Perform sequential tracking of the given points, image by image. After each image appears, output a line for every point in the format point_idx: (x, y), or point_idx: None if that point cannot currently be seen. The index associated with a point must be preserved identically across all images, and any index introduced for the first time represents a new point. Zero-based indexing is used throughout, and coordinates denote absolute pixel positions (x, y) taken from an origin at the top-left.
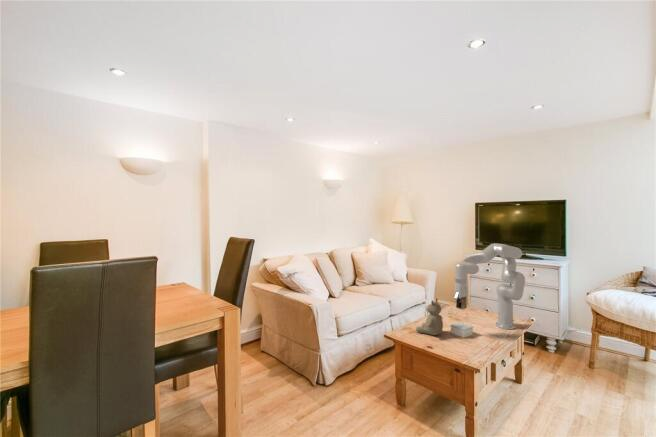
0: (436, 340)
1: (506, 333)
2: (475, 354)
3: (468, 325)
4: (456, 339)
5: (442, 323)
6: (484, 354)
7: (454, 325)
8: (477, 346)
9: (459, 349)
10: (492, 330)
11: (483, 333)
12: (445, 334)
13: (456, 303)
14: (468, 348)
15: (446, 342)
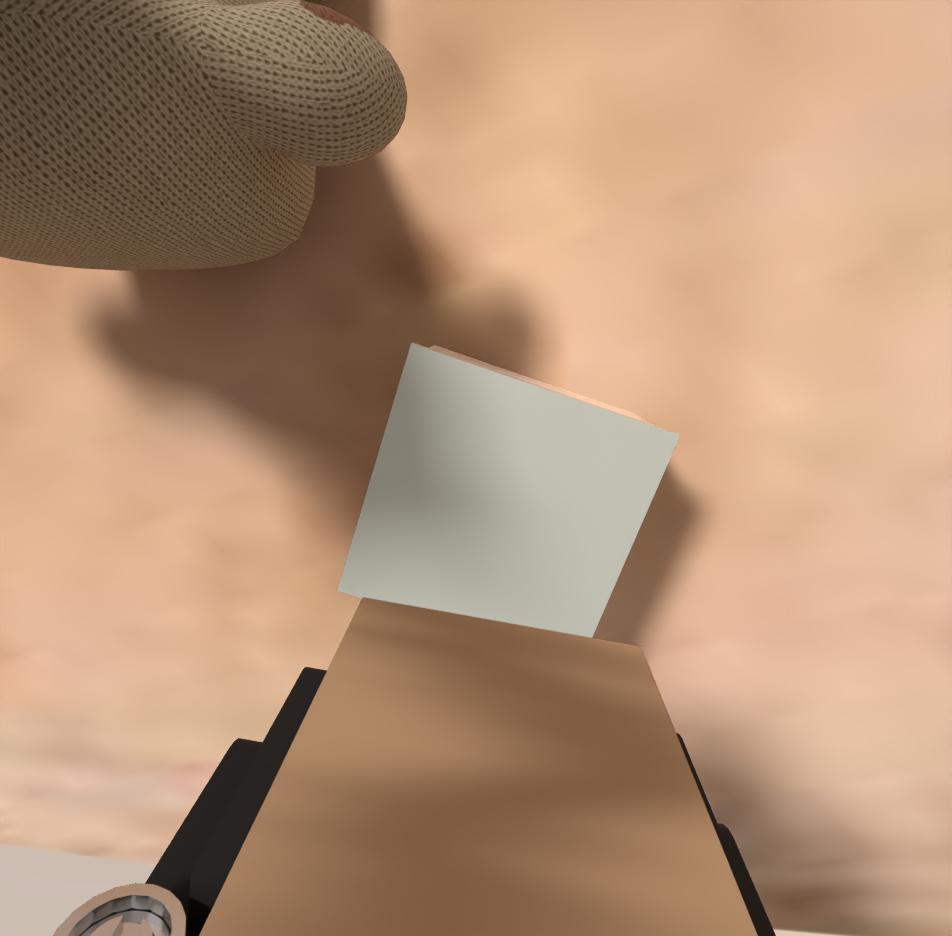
0: (32, 295)
1: (872, 876)
2: (60, 756)
3: (590, 598)
4: (267, 489)
5: (214, 253)
6: (130, 816)
7: (428, 418)
8: (259, 726)
9: (34, 607)
10: (887, 744)
11: (703, 686)
12: (317, 307)
13: (303, 734)
14: (135, 670)
15: (83, 425)
